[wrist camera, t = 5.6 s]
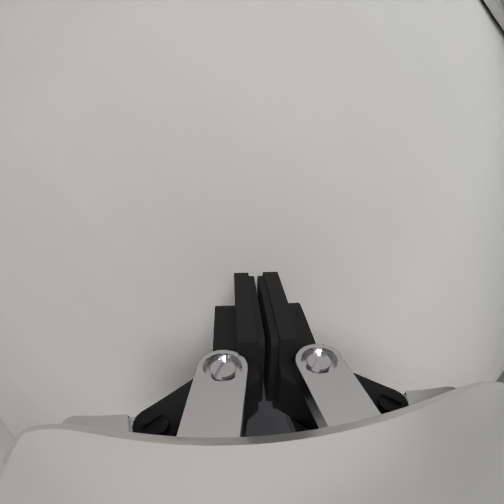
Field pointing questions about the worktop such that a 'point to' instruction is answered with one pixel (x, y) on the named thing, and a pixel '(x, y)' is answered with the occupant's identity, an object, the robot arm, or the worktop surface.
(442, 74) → the worktop surface
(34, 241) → the worktop surface
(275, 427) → the grey ball
